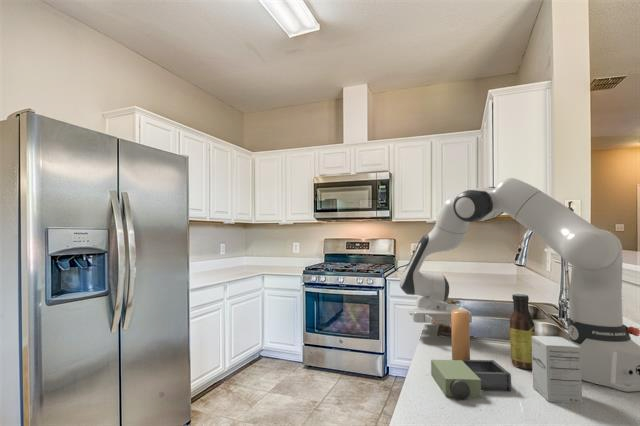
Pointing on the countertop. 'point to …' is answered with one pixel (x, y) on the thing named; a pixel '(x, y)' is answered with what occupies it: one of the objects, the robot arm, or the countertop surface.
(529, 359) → the sauce bottle
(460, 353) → the orange cylinder
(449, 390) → the green rectangular block
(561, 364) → the supplement box
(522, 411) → the countertop surface
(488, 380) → the frame
